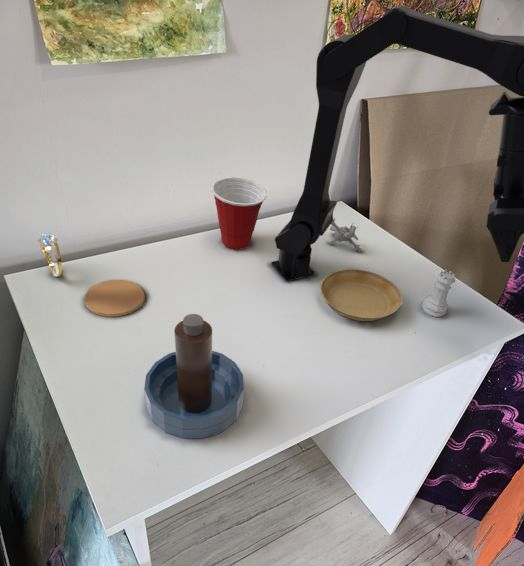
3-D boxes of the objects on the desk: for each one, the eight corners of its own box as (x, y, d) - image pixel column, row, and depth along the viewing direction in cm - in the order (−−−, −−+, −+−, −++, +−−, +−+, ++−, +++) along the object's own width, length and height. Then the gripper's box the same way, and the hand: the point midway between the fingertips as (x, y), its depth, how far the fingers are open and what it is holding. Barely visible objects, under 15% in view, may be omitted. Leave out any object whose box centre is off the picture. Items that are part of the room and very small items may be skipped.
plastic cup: (244, 263, 97) (247, 206, 89) (200, 245, 101) (199, 189, 93) (272, 241, 104) (277, 187, 96) (230, 225, 108) (232, 171, 100)
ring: (70, 282, 88) (61, 243, 83) (51, 286, 87) (41, 247, 81) (59, 263, 92) (50, 224, 87) (41, 267, 91) (31, 228, 86)
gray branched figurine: (358, 235, 109) (374, 242, 101) (340, 255, 110) (354, 264, 102) (328, 204, 105) (342, 208, 97) (309, 225, 106) (322, 232, 98)
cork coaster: (79, 289, 87) (79, 286, 87) (135, 277, 91) (135, 275, 90) (92, 322, 81) (92, 319, 80) (152, 308, 84) (151, 306, 84)
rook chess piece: (446, 320, 88) (462, 283, 83) (421, 315, 89) (435, 278, 83) (444, 305, 91) (459, 269, 86) (420, 301, 92) (433, 264, 87)
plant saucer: (380, 340, 83) (384, 328, 81) (303, 307, 88) (305, 296, 86) (409, 299, 92) (413, 287, 90) (339, 271, 97) (341, 260, 96)
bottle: (174, 394, 70) (168, 313, 60) (204, 385, 71) (203, 304, 61) (185, 417, 67) (181, 336, 57) (216, 407, 68) (218, 326, 59)
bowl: (135, 385, 71) (132, 363, 68) (219, 361, 76) (220, 339, 73) (165, 454, 63) (163, 432, 60) (257, 422, 68) (260, 400, 65)
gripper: (595, 166, 59) (567, 280, 68) (585, 123, 72) (563, 224, 81) (493, 168, 63) (480, 275, 72) (501, 128, 76) (489, 223, 85)
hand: (506, 247), depth 78 cm, fingers open, 9 cm apart
